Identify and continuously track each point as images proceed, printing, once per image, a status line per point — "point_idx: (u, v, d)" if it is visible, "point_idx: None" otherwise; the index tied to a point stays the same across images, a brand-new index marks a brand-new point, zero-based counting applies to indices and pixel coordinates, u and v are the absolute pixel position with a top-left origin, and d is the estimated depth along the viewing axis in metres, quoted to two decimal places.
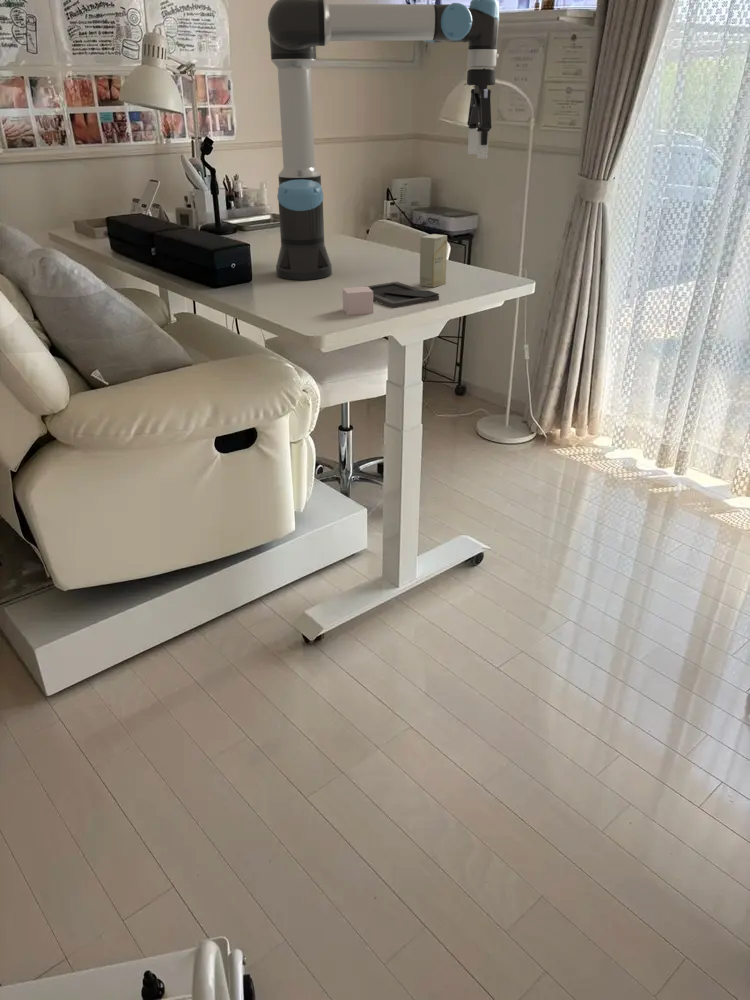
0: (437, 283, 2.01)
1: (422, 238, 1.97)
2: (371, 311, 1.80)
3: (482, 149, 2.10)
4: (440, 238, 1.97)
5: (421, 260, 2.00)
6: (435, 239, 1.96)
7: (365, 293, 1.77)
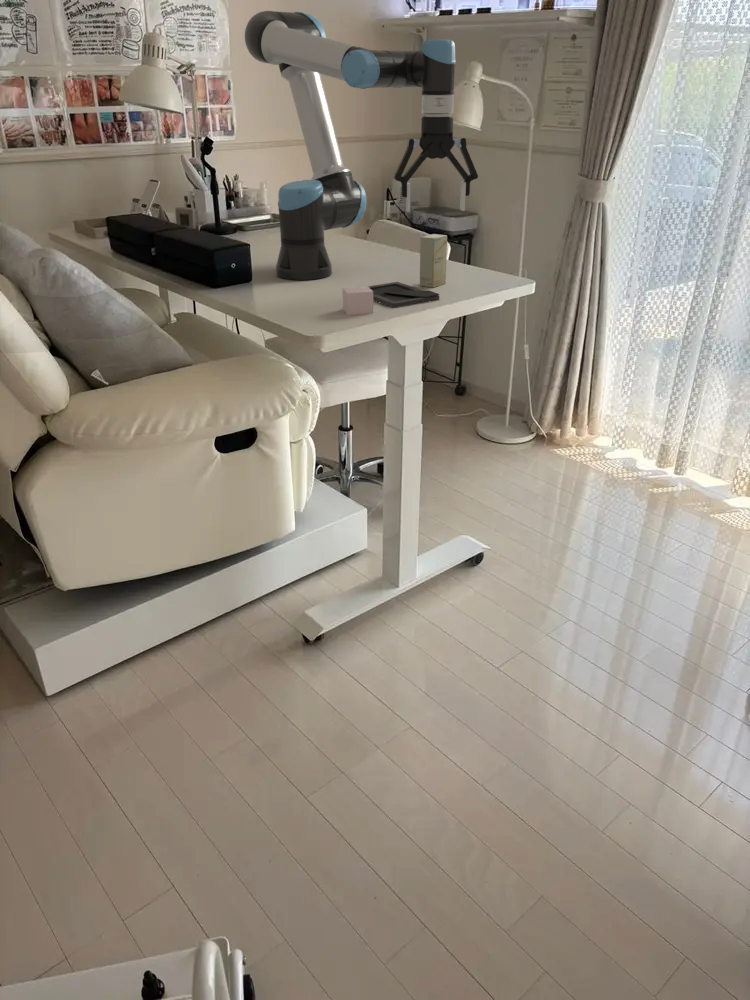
0: (437, 283, 2.01)
1: (422, 238, 1.97)
2: (371, 311, 1.80)
3: (406, 201, 1.94)
4: (440, 238, 1.97)
5: (421, 260, 2.00)
6: (435, 239, 1.96)
7: (365, 293, 1.77)
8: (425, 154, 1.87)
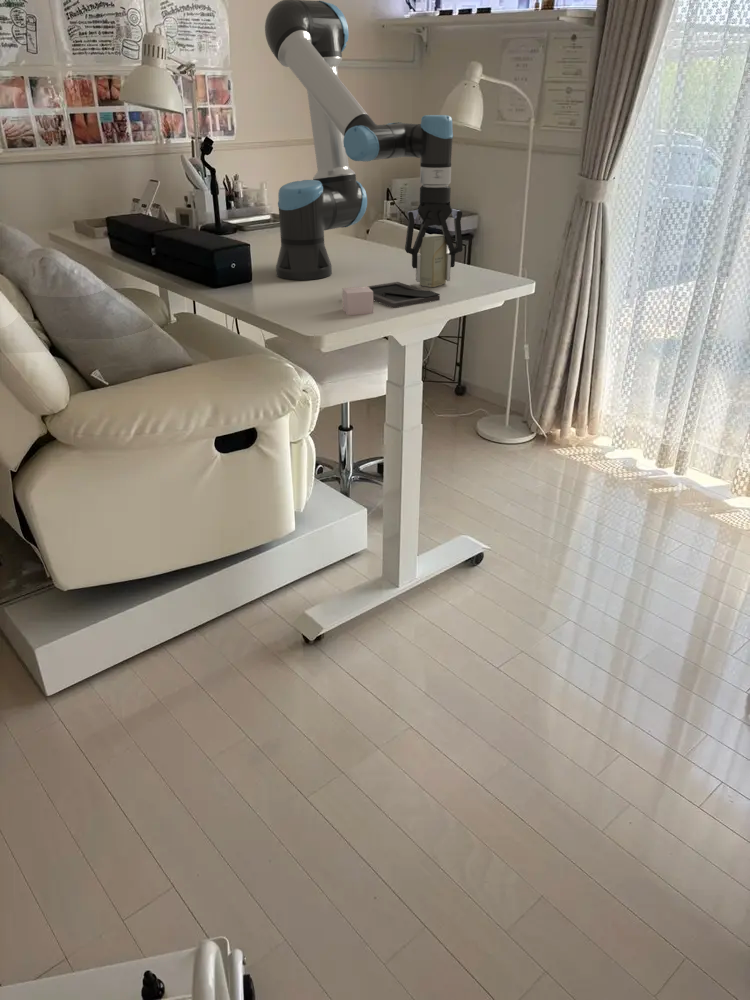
0: (437, 283, 2.01)
1: None
2: (371, 311, 1.80)
3: (416, 272, 2.02)
4: (440, 238, 1.97)
5: (421, 260, 2.00)
6: (435, 239, 1.96)
7: (365, 293, 1.77)
8: (426, 223, 1.95)
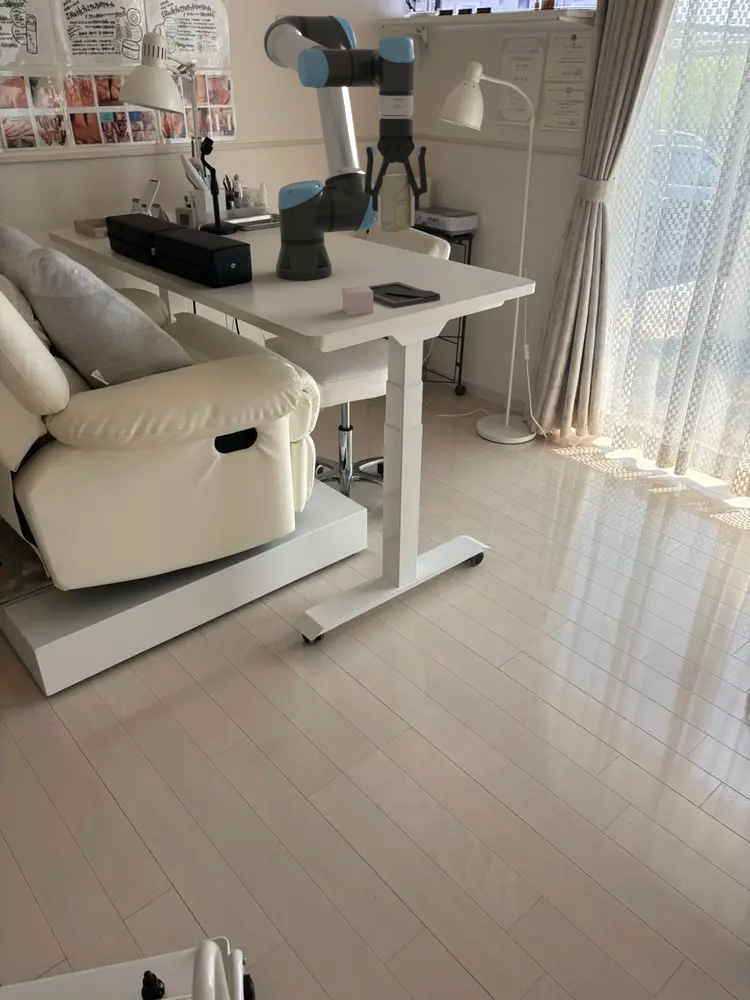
0: (400, 227, 1.84)
1: (383, 177, 1.79)
2: (371, 311, 1.80)
3: (377, 215, 1.84)
4: (402, 177, 1.79)
5: (382, 202, 1.82)
6: (397, 178, 1.78)
7: (365, 293, 1.77)
8: (386, 160, 1.77)
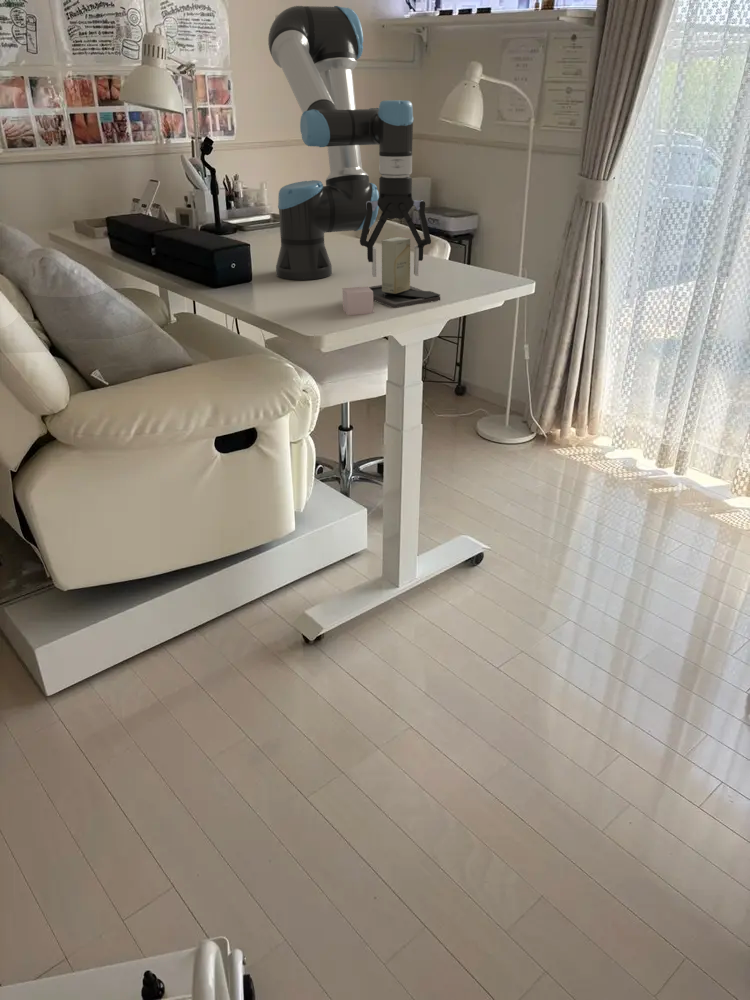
0: (400, 289, 1.90)
1: (383, 242, 1.86)
2: (371, 311, 1.80)
3: (372, 266, 1.90)
4: (402, 242, 1.86)
5: (383, 265, 1.89)
6: (397, 243, 1.84)
7: (365, 293, 1.77)
8: (385, 216, 1.83)
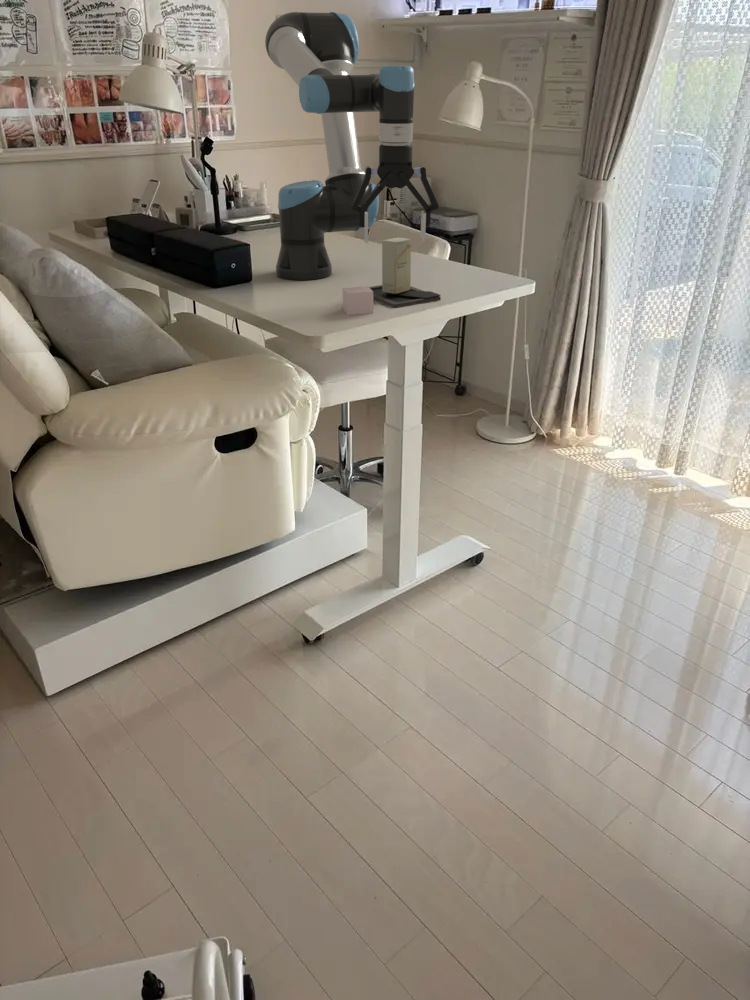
0: (400, 289, 1.90)
1: (384, 242, 1.86)
2: (371, 311, 1.80)
3: (364, 231, 1.86)
4: (403, 242, 1.86)
5: (383, 265, 1.89)
6: (397, 243, 1.85)
7: (365, 293, 1.77)
8: (383, 184, 1.80)
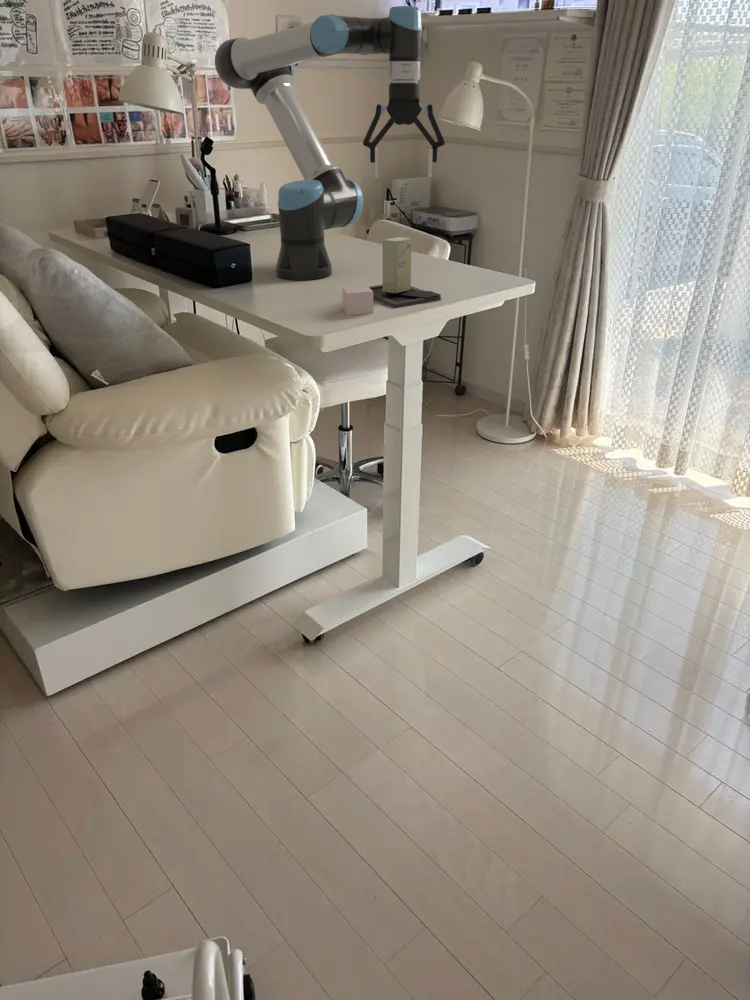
0: (401, 288, 1.90)
1: (384, 241, 1.86)
2: (371, 311, 1.80)
3: None
4: (403, 241, 1.86)
5: (383, 264, 1.89)
6: (397, 242, 1.85)
7: (365, 293, 1.77)
8: (392, 120, 1.92)
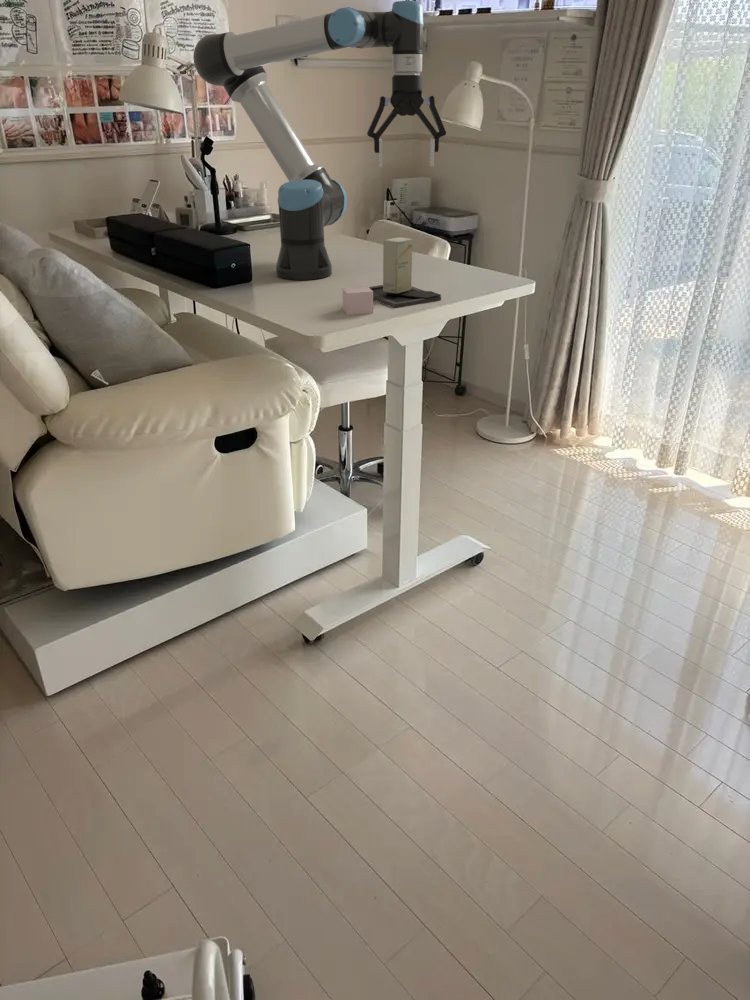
0: (401, 289, 1.90)
1: (385, 241, 1.86)
2: (371, 311, 1.80)
3: (378, 157, 2.05)
4: (404, 242, 1.86)
5: (384, 265, 1.89)
6: (398, 243, 1.84)
7: (365, 293, 1.77)
8: (396, 111, 1.99)
